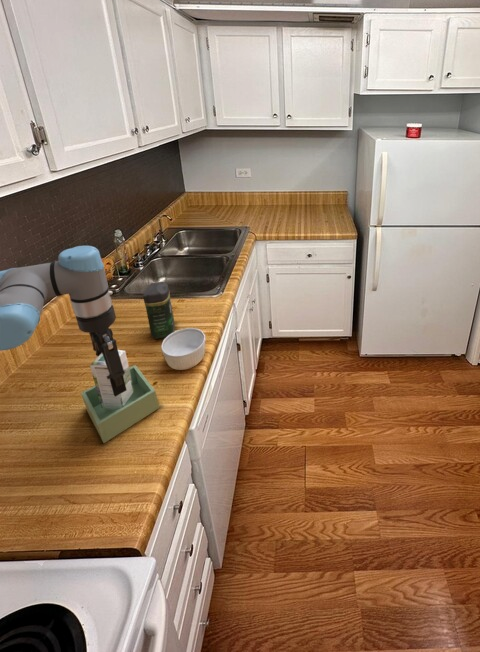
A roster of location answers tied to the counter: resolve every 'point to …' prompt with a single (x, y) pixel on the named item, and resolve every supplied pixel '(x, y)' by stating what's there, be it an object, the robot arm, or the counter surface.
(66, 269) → the robot arm
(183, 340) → the ramekin
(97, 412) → the bin
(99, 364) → the syrup box
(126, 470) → the counter surface
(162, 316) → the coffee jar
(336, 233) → the counter surface
